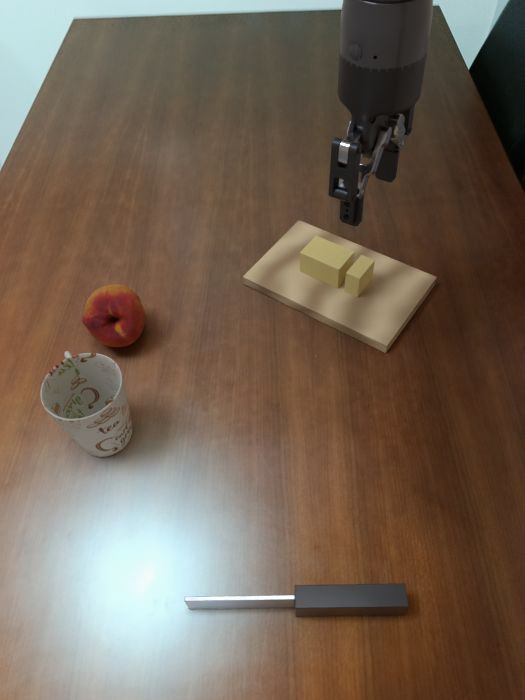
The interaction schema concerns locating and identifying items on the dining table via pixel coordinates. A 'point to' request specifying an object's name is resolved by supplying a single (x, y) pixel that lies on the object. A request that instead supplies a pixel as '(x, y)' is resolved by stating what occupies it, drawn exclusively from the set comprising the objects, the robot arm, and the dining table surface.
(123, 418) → the mug
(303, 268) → the butter
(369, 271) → the butter slice
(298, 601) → the screwdriver
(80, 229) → the dining table surface
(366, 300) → the board
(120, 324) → the fruit
